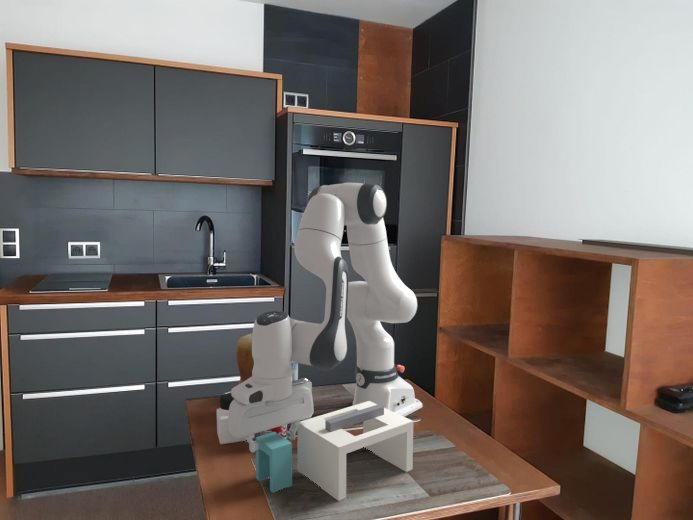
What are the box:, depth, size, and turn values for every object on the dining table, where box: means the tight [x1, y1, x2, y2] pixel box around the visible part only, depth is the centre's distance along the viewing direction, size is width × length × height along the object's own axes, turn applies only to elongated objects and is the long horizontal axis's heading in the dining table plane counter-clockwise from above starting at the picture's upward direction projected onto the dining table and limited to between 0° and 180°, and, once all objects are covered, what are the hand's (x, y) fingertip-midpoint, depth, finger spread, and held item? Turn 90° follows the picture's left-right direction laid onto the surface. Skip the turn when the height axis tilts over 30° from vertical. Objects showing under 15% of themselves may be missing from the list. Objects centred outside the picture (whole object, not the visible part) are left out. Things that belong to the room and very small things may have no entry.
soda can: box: [259, 424, 288, 440], centre depth 143 cm, size 7×7×13 cm
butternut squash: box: [235, 332, 254, 385], centre depth 160 cm, size 14×13×25 cm
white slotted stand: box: [296, 401, 414, 502], centre depth 129 cm, size 22×16×14 cm
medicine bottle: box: [216, 391, 246, 445], centre depth 146 cm, size 7×7×12 cm
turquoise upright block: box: [255, 432, 293, 494], centre depth 123 cm, size 5×7×10 cm
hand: (272, 445), depth 123 cm, fingers open, 8 cm apart
